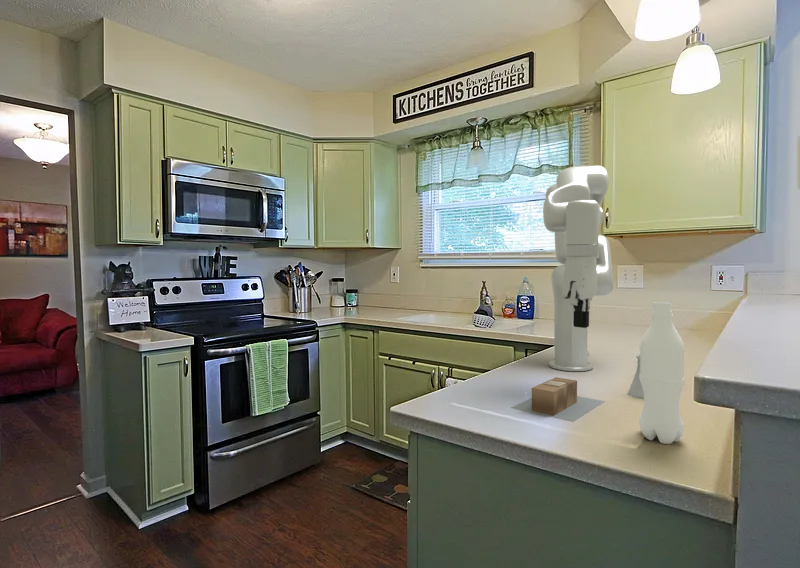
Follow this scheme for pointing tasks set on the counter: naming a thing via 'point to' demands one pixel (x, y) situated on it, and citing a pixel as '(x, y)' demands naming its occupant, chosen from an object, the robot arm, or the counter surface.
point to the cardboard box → (554, 396)
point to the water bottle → (662, 377)
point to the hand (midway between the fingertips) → (581, 326)
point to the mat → (569, 413)
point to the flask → (636, 384)
